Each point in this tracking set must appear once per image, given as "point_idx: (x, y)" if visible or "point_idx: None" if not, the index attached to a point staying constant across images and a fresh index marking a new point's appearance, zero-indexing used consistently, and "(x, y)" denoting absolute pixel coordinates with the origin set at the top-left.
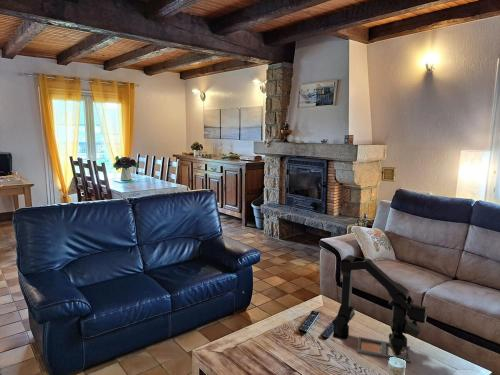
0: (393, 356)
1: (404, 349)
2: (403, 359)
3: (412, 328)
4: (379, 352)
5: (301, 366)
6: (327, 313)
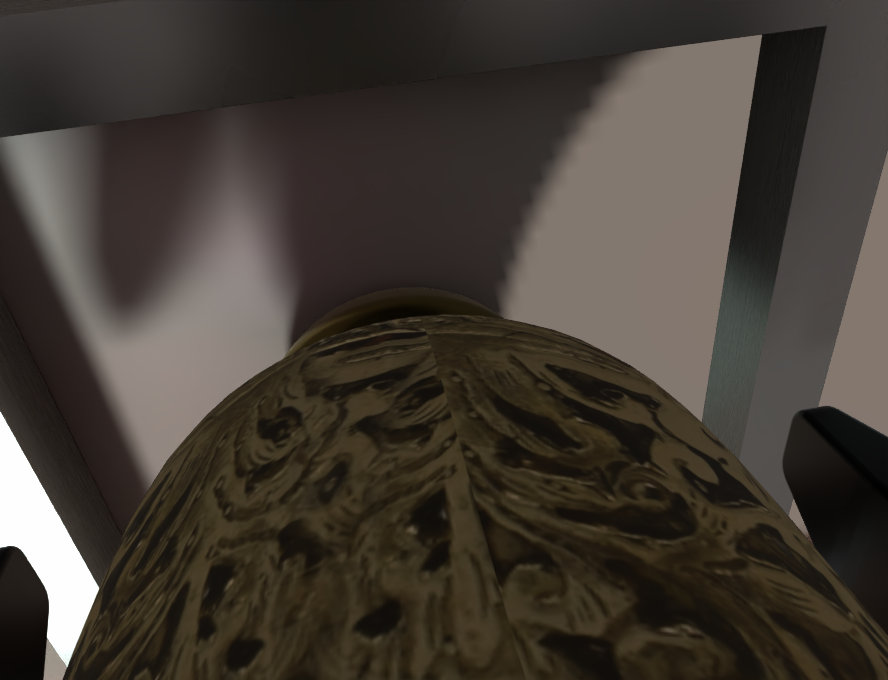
0: (743, 458)
1: (567, 352)
2: (851, 203)
3: None
4: None
5: None
6: None
